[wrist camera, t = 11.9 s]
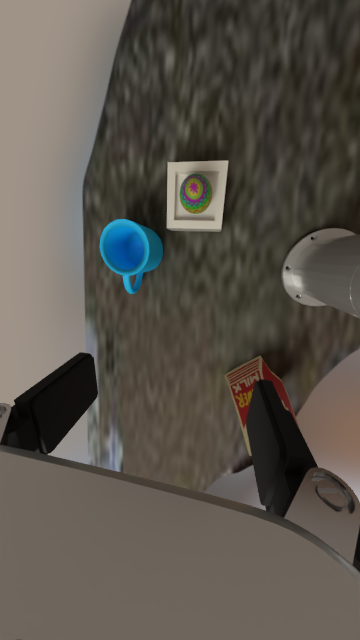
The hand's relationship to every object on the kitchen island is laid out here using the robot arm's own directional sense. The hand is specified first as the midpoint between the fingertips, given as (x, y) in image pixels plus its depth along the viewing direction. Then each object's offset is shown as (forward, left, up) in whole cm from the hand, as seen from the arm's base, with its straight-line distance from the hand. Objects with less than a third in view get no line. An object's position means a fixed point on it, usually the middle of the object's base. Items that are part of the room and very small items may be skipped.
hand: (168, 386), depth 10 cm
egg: (+2, -16, -26) cm, 31 cm away
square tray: (+2, -16, -28) cm, 32 cm away
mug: (+12, -6, -28) cm, 32 cm away
